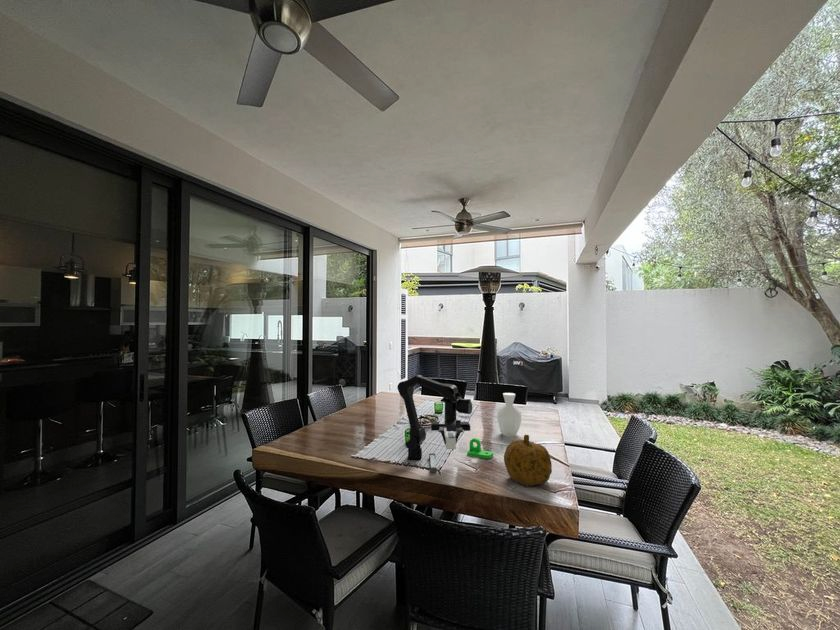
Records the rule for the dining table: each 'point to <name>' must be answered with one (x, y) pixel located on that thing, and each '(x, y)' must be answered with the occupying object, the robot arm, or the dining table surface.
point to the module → (450, 441)
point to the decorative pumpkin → (527, 462)
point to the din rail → (432, 463)
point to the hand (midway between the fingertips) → (450, 444)
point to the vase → (509, 416)
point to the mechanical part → (478, 450)
